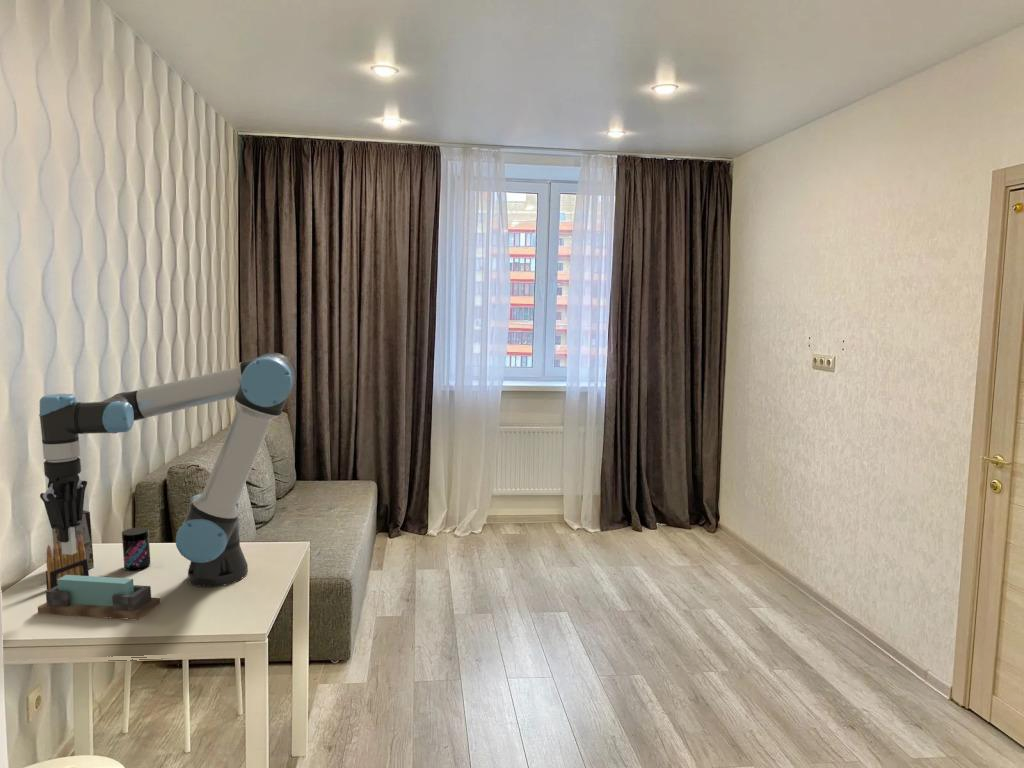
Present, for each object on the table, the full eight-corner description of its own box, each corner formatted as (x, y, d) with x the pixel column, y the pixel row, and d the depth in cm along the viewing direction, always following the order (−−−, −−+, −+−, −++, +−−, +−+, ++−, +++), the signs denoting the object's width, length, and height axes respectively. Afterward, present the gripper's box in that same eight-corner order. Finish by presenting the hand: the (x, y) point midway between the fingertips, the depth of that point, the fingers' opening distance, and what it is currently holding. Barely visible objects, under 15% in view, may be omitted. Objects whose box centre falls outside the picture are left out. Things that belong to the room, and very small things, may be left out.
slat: (134, 602, 181) (133, 578, 180) (126, 607, 178) (125, 583, 177) (68, 597, 183) (66, 574, 182) (59, 602, 180) (57, 579, 179)
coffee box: (95, 567, 207) (91, 511, 205) (71, 574, 201) (66, 517, 199) (78, 560, 212) (73, 506, 210) (54, 568, 206) (49, 512, 204)
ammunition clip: (51, 591, 191) (47, 546, 189) (46, 590, 191) (42, 545, 190) (89, 576, 200) (85, 533, 199) (84, 575, 201) (81, 533, 200)
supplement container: (118, 570, 205) (115, 534, 203) (136, 561, 211) (134, 526, 210) (138, 572, 203) (136, 536, 202) (156, 563, 210) (154, 528, 208)
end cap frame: (160, 603, 183) (159, 584, 183) (137, 619, 174) (135, 599, 174) (65, 597, 187) (63, 578, 186) (38, 613, 178) (36, 593, 177)
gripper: (67, 452, 183) (74, 543, 187) (26, 464, 171) (34, 562, 174) (95, 453, 182) (101, 544, 186) (55, 465, 170) (63, 564, 173)
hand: (69, 553), depth 180 cm, fingers closed
